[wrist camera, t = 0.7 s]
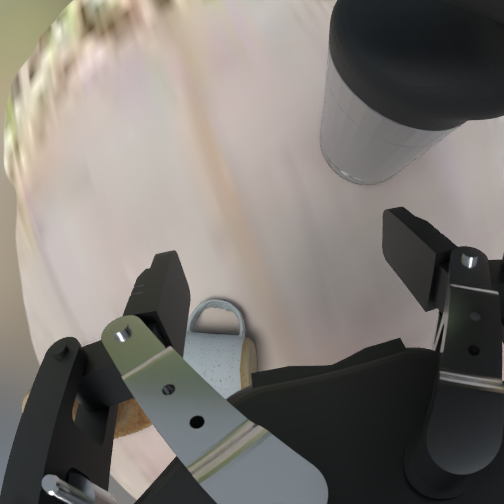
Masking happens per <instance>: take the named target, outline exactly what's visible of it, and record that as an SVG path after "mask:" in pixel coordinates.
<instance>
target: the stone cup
mask: <svg viewBox="0 0 504 504" xmlns="http://www.w3.org/2000/svg"><path fill="white" fill-rule="evenodd" d="M30 391H31V390H29V391H28V392H27V394H26V395H25V397H24V400H23V403H22V413H23V411H24V408H25V405H26V402H27V399H28V397H29V394H30ZM78 404H79V402H78V401H77V400H76V399H75V403H74V406H73V411H72V416H73V420H75V416H76V412H77V408H78ZM151 425H152V423H151V421H150V420H149V418H148V417H147V416H146V414H145V413H144V411H143V410H142V408H141V407H140V405H139V404H138V402H137V401H136V399H135V398H133V399H130V400H127V401H124V402H121V403H119V406H118V413H117V419H116V426H115V433H114V439H115V438H119V437H122V436H126V435H129V434H132V433H135V432H138V431H140V430H143V429H145V428H147V427H149V426H151Z"/></svg>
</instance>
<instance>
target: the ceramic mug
mask: <svg viewBox="0 0 504 504" xmlns="http://www.w3.org/2000/svg"><path fill="white" fill-rule="evenodd" d="M209 307H214V308H222V309H225V310H226V311H230V310H231V311H233V312H234V313H235V314H236V316H237V318H238V321H239V327H240V329H239V331H240V333H239V335H226V334H209V333H198V332H193V330H194V326H195V322H196V320H197V318H198V316H199V315H200V313H201V312H202V311H203V310H204V309H206V308H209ZM183 359H184V360H185V361H186V362H187V363H188V364H189V365H190V366H191V367H192V368H193V369H194V370H195V371H196V372H197V373H198V374H199V375H200V376H201V377H202V378H203V379H204V380H205V381H206V382H207V383H209V384H210V385H211V386H212V387H213V388H214V389H215V390H216V391H217V392H218V393H219V394H220V395H221V396H222V397H224V398H225V399H227V398H228V397H229V396H231V395H232V394H234V393H236V392H237V391H239V390H241V389H243V388H245V387H247V386H250V385H252V378H251V373H256V372H257V355H256V348H255V344H254V342H253V341H252V340H251V339H250V338H248V337H245V324H244V319H243V316H242V314H241V313H240V311H239V310H238V309H237V308H236V307H235V306H234V305H233V304H231V303H229V302H227V301H224V300H219V299H212V300H206V301H204V302H202V303H201V304H200V305H199V306H198V307H197V308H195V310H194V311H193V313H192V315H191V317H190V319H189V321H188V325H187V330H186V338H185V346H184V355H183Z"/></svg>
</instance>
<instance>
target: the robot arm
mask: <svg viewBox="0 0 504 504" xmlns="http://www.w3.org/2000/svg"><path fill="white" fill-rule="evenodd" d="M503 115H504V0H337V2H336V4H335V6H334V8H333V11H332V15H331V21H330V32H329V47H328V60H327V75H326V86H325V96H324V106H323V116H322V124H321V133H320V144H321V149H322V152H323V155H324V157H325V159H326V161H327V163H328V164H329V165H330V167H331V168H332V169H333V170H334V171H335V172H336V173H337V174H339V175H340V176H341V177H343V178H345V179H347V180H348V181H351V182H354V183H357V184H365V185H369V184H377V183H380V182H383V181H385V180H387V179H388V178H390V177H391V176H393V175H394V174H395V173H397V172H398V171H400V170H401V169H403V168H404V167H405V166H407V165H408V164H410V163H411V162H412V161H414V160H415V159H416V158H418V157H419V156H420V155H422V154H423V153H424V152H426V151H427V150H429V149H430V148H431V147H433V146H434V145H435V144H437V143H438V142H439V141H441V140H442V139H443V138H444V137H446V136H447V135H448V134H450V133H451V132H452V131H454V130H455V129H456V128H458V127H459V126H460V125H462V124H463V123H465V122H466V121H467V120H484V119H492V118H497V117H500V116H503ZM382 248H383V254H384V257H385V259H386V261H387V262H388V263H389V265H390V266H391V267H392V268H393V270H394V271H395V272H396V273H397V275H398V276H399V277H400V279H401V280H402V281H403V282H404V284H405V285H406V286H407V288H408V289H409V290H410V292H411V293H412V294H413V296H414V297H415V298H416V300H417V301H418V302H419V304H420V305H421V306H422V308H423V309H424V310H425V312H427V311H430V310H433V309H436V308H438V309H439V313H438V317H437V323H436V329H435V334H434V340H433V345H432V350H430V349H425V348H405V346H404V344H403V342H402V341H401V339H400V338H398V339H395V340H391V341H388V342H385V343H381V344H378V345H374V346H371V347H367V348H365V349H363V350H361V351H359V352H357V353H355V354H353V355H352V356H350V357H348V358H346V359H344V360H342V361H340V362H338V363H335V364H333V365H326V366H288V367H283V368H278V369H272V370H267V371H261V372H256V373H251V378H252V385H250V386H247V387H245V388H243V389H241V390H239V391H237V392H236V393H234V394H232V395H231V396H229V397H228V398H227V399H225V398H224V397H222V396H221V395H220V394H219V393H218V392H217V391H216V390H215V389H214V388H213V387H212V386H211V385H210V384H209V383H207V382H206V381H205V380H204V379H203V378H202V377H201V376H200V375H199V374H198V373H197V372H196V371H195V370H194V369H193V368H192V367H191V366H190V365H189V364H188V363H187V362H186V361H185V360H184V359H183V355H184V346H185V338H186V330H187V322H188V314H189V307H190V290H189V286H188V283H187V280H186V277H185V274H184V271H183V268H182V266H181V263H180V260H179V257H178V254H177V252H176V251H175V250H173V251H169V252H164V253H159V254H156V255H155V257H154V259H153V262H152V265H151V267H150V268H149V269H145V270H144V271H143V272H142V273H141V275H140V276H139V277H138V278H137V280H136V283H135V285H134V288H133V290H132V293H131V296H130V298H129V300H128V303H127V306H126V308H125V311H124V314H123V316H122V317H119V318H117V319H115V320H114V321H112V322H111V323H109V324H108V325H107V326H106V327H105V329H104V330H103V332H102V335H101V340H100V341H97V342H95V343H92V344H89V345H87V346H84V347H82V346H81V345H80V343H79V342H78V340H77V339H76V338H74V337H66V338H62V339H60V340H58V341H57V342H55V343H54V344H53V345H52V346H51V347H50V348H49V349H48V351H47V352H46V354H45V357H44V359H43V361H42V364H41V366H40V368H39V371H38V374H37V376H36V378H35V381H34V383H33V386H32V389H31V391H30V394H29V397H28V399H27V402H26V405H25V408H24V411H23V413H22V416H21V419H20V423H19V426H18V429H17V432H16V435H15V439H14V442H13V446H12V449H11V452H10V456H9V460H8V464H7V468H6V472H5V476H4V481H3V486H2V491H1V495H0V504H117V503H116V501H115V499H114V497H113V496H112V495H111V494H110V493H109V492H108V485H109V474H110V465H111V456H112V448H113V440H114V433H115V426H116V419H117V413H118V406H119V403H121V402H124V401H127V400H130V399H133V398H135V399H136V401H137V402H138V404H139V405H140V407H141V408H142V410H143V411H144V413H145V414H146V416H147V417H148V418H149V420H150V421H151V423H152V424H153V425H154V427H155V428H156V430H157V431H158V432H159V434H160V435H161V436H162V438H163V439H164V440H165V442H166V443H167V444H168V445H169V447H170V448H171V449H172V451H173V452H174V453H175V454H176V457H175V458H174V460H173V461H172V462H171V463H170V464H169V465H168V466H167V468H166V469H165V470H164V471H163V472H162V473H161V474H160V476H159V477H158V478H157V479H156V480H155V481H154V482H153V483H152V485H151V486H150V487H149V488H148V489H147V490H146V491H145V492H144V493H143V494H142V495H141V497H140V498H139V499H138V500H137V501H136V502H135V503H134V504H504V381H502V341H503V343H504V254H503V258H502V260H488V258H487V256H486V255H485V254H484V253H483V252H481V251H480V250H478V249H476V248H472V247H467V246H462V247H457V246H456V245H455V244H454V243H452V242H451V241H450V240H449V239H448V238H447V237H445V236H444V235H443V234H441V233H440V232H439V231H438V230H437V229H436V228H435V229H434V227H433V226H432V225H431V224H430V223H429V222H427V221H426V220H423V219H421V218H418V217H415V216H414V215H413V214H411V213H410V212H409V211H408V210H406V209H405V208H404V207H397V208H392V209H386V210H385V211H384V212H383V239H382ZM75 399H76V400H77V401H78V402H79V404H78V408H77V412H76V416H75V420H73V416H72V411H73V406H74V403H75Z"/></svg>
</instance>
